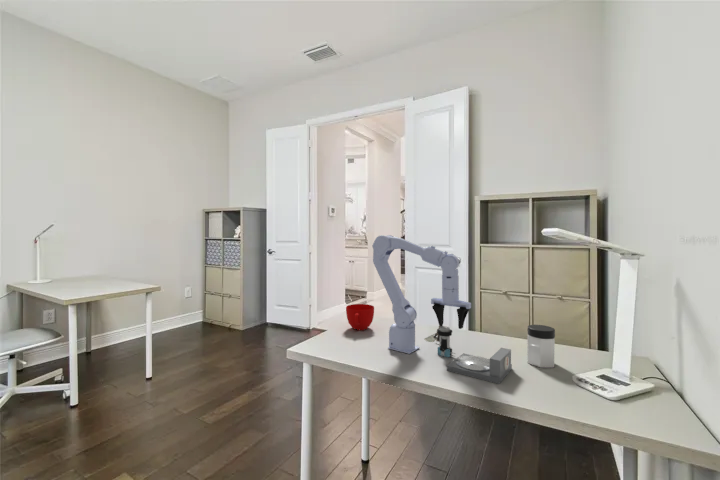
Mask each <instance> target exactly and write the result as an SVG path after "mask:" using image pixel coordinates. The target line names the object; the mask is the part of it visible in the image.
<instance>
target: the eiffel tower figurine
mask: <svg viewBox="0 0 720 480" xmlns="http://www.w3.org/2000/svg"><path fill="white" fill-rule="evenodd" d="M441 326H444V323H443V324H442V325H439V324H438V328H437V329H440V327H441ZM424 340H425V341H426V342H428V343H433V342H435V341H436V343H435V345H438V346H439V345H440V343H437V342H440V335H438V332H437V331H436V332H435V333H433V334H431V335H428V336H427V337H425V338H424Z"/></svg>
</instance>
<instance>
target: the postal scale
mask: <svg viewBox="0 0 720 480" xmlns="http://www.w3.org/2000/svg"><path fill="white" fill-rule="evenodd" d="M512 364H513V363H512V349H510V348H503V347H500V348H499V349H498V350H497V351H496V352H495V353H494V354H493V355H492V356H490V358H487V357H483V356H479V355H473V354H469V353H462V354H460V355H459V356H457V357H456V358H455V359H454V360H452V361H451V362H449V364H447V365H446V371H448V372H452V373H456V374H460V375H463V376H466V377H472V378H475V379H479V380H483V381H486V382H490V383H493V384H497V385H500V383H501V382H503V380H504V379H505V378H506V376H507V375H508V374H509V373H510V372H511V370H512V369H513V367H512V366H513V365H512Z"/></svg>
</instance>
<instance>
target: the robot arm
mask: <svg viewBox="0 0 720 480" xmlns="http://www.w3.org/2000/svg"><path fill="white" fill-rule="evenodd" d="M372 249H373V252H372V253H373V255H372V263H373V265H374V267H375V270H376V271H377V274H378V276H379V278H380V281H381V283H382V285H383V287H384V289H385V291H386V294H387V295H388V297H389V299H390V303H391V304H392V307H391V310H392V313H393V320H394V323H392V324H391V325H390V327H389V330H388V331H389V332H388V333H389V334H388V347H387V349H389V350H394V351H396V352H401V353H405V354H409V355H410V354H412V353H414V352H415V351H417V350H419V349H420V346H418V345H416V324H415V320H416V319H417V316H418V315H417V314H418V313H417V310H416V308H415V307H413V306H412V305H411V303H410V301H409V300H408V299H407V298H405V295H404V293H403V292H402V289H401V287H400V285H399V282H398V280H397V278H396V277H395V274H394V272H393V270H392V267H391V266H390V263H389V259H390V256H391V254H392V252H394V251H395V250H397V249H398V250H403V251H406V252H409V253H412V254H415V255H417V256H420V258H421V260H422V261H423V262H426V263H429V264H430V265H432V266H435V267H438V268H439V267H440V268H441V269H442V272H441V273H442V275H441V298H440V297H439V298H437V297H432V298H431V299H430V300H431V301H430V303H431V305H432V307H431V308H432V310H433V311H434V313H435V315H436V319H437V322H438V326H439V325H442V324H443V325H444V322H445V321H444V315H445V313H444V312H445V307H446V306H448V307H454V308H456V313H457V318H458V319H457V321H458V322H457V323H458V324H457V325H458V329H460V330H461V329H463V328H464V326H465V325H464V324H465V320H466V318H467V315H468V313H469V311H470V309H472V302H468V301H465V300H464V301H463V300H460V297H459V296H460V295H459V294H460V293H459V287H460V286H459V279H460V278H459V268H458V267H459V265H460V259H459V258H458V257H457V256H456V255H454V254H453V253H448V251H446V250H445V251H442V250H440V249H437V248H436V246H434V245H431V246H430V245H428V246H427V245H426V247H422V246H421V245H419V244H416V243H413V242H410V240H409V241H408V240H406V239H405V238H402V237H399V236H398V237H397V236H394V235H391V234H388V235H378V236H377V237H376V238H375V239H374V242H373V243H372Z"/></svg>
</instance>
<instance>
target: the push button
mask: <svg viewBox="0 0 720 480" xmlns="http://www.w3.org/2000/svg"><path fill="white" fill-rule="evenodd" d="M437 332H438V335H440V341H439V344H440V345H438V347H437V355H438V356H442V357H447V358H450V357H456V353H455V352H453V348H452V347H451V345H450V344H451V342H450V340H451V339H450V337H451V336H452V335H453V334H452V333H453V330H452V329H450V327H449V326H445V325H443V326H441V327H440V329H438V328H437V329H436V333H437Z"/></svg>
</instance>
